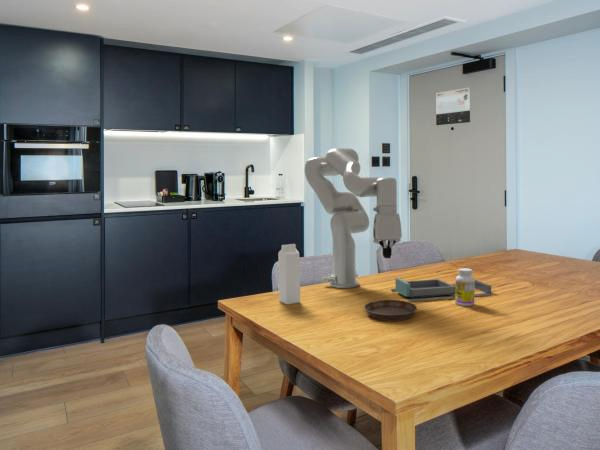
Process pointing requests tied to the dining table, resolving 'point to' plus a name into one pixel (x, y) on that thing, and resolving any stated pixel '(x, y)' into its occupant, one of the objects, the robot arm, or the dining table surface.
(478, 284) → the rails
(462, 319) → the dining table surface
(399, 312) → the plant saucer
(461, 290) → the supplement bottle
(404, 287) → the drawer
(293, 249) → the milk
